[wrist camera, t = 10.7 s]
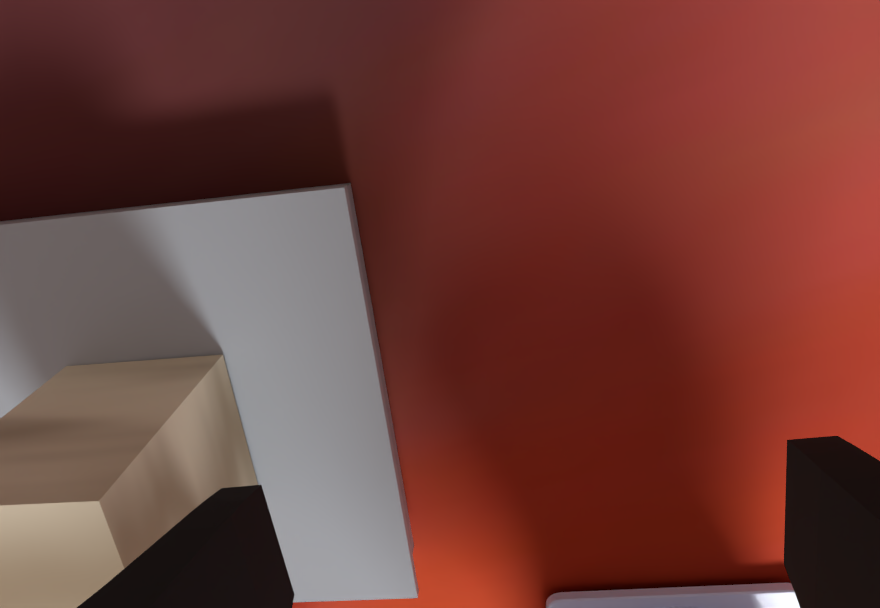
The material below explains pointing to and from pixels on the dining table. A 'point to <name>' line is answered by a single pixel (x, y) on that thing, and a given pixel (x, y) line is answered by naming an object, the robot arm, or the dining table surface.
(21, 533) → the birch block
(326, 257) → the thin white square tile
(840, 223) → the dining table surface
